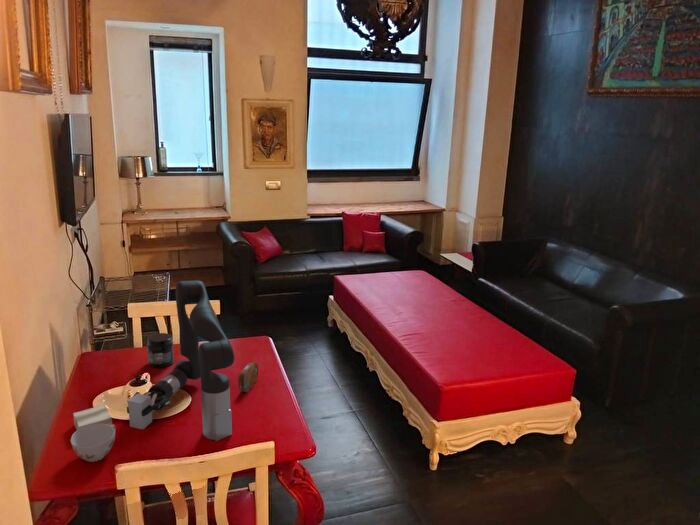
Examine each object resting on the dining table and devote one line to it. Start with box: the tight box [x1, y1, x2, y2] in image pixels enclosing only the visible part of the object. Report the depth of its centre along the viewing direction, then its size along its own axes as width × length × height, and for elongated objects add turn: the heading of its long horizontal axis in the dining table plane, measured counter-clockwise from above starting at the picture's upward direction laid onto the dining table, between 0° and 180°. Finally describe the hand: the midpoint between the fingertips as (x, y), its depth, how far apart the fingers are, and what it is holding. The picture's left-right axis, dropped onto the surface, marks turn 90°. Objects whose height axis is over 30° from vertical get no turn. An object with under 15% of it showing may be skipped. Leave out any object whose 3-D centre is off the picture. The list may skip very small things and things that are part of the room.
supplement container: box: [146, 332, 175, 369], centre depth 229 cm, size 10×10×12 cm
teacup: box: [70, 424, 116, 463], centre depth 168 cm, size 15×12×8 cm
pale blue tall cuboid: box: [127, 393, 153, 430], centre depth 185 cm, size 5×5×10 cm
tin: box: [237, 362, 259, 393], centre depth 213 cm, size 15×3×8 cm, turn 168°
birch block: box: [72, 404, 113, 431], centre depth 183 cm, size 10×10×5 cm
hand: (135, 412), depth 182 cm, fingers closed on pale blue tall cuboid, 5 cm apart
